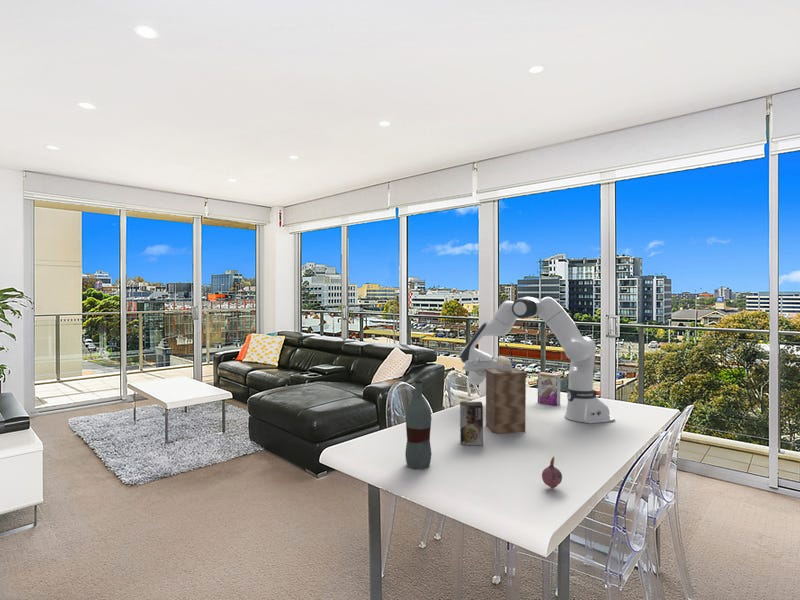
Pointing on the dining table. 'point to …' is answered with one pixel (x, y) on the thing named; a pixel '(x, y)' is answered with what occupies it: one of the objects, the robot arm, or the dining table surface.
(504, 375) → the lidded wooden crate
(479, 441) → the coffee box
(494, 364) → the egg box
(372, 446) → the dining table surface
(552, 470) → the vegetable
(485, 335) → the robot arm
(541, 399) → the candy bar box
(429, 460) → the bottle
